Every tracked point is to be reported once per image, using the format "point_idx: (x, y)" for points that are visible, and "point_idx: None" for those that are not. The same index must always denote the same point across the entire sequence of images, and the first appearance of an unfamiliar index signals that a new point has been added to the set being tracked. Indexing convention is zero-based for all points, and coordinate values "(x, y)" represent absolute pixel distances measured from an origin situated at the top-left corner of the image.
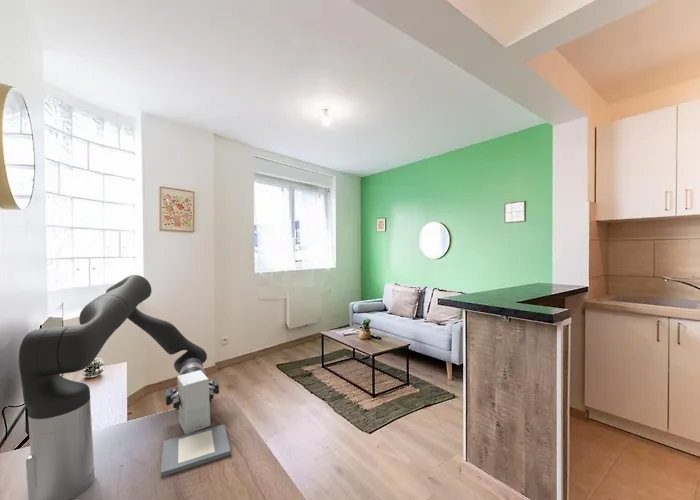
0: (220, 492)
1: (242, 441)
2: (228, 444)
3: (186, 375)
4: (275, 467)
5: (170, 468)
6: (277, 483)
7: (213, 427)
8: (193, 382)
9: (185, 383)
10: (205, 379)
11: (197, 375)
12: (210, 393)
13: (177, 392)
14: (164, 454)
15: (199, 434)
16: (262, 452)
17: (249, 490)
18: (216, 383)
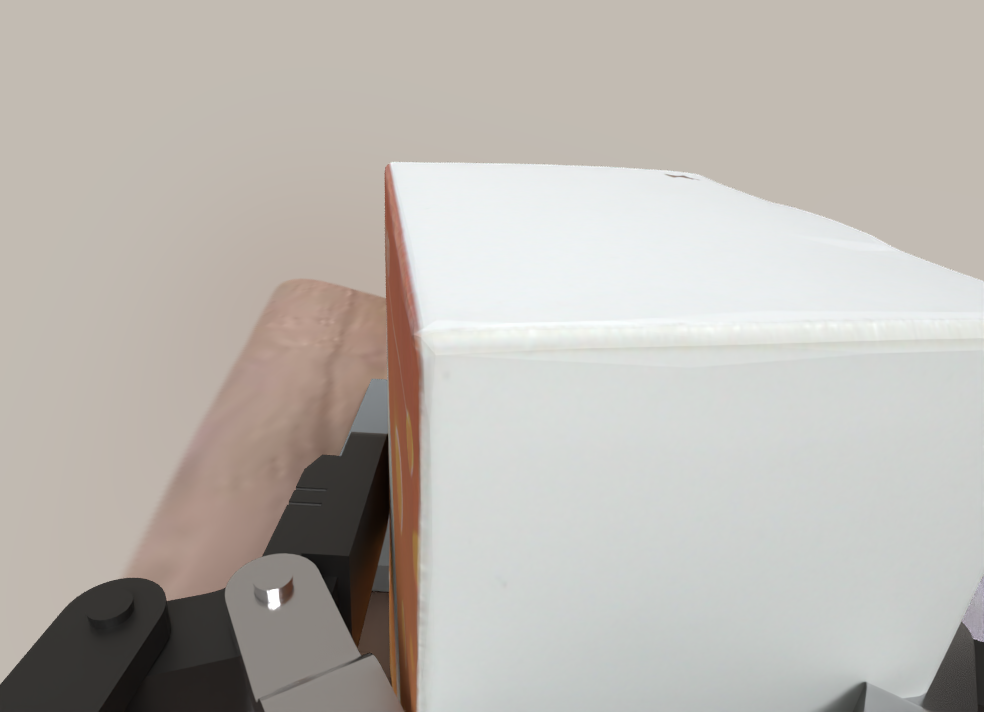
0: None
1: (277, 436)
2: (363, 405)
3: (804, 261)
4: (265, 317)
5: None
6: (301, 292)
7: (387, 563)
8: (588, 166)
9: (695, 180)
10: (430, 164)
11: (540, 214)
12: (353, 435)
13: (951, 710)
14: None
15: None
16: (250, 364)
17: (380, 303)
18: (60, 684)
